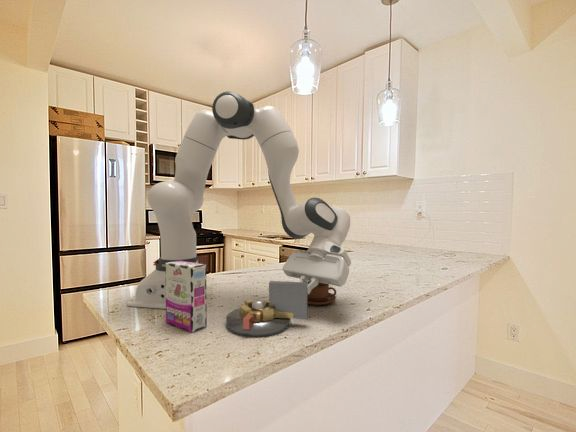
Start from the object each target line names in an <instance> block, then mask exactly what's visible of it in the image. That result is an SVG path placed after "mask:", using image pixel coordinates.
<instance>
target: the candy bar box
mask: <svg viewBox="0 0 576 432" xmlns="http://www.w3.org/2000/svg"><path fill="white" fill-rule="evenodd" d="M165 265H166V309H165V324H166V325H170V326H172V327H176V328H179V329H181V330H184V331H187V332H189V333H195V332H198V331H199V330H200V331H201V330H202V329H204V328H206V327H207V325H208V324H207V322H208V321H207V318H208V317H207V264H205V263H200V262H198V263H193V262H186V261H174V262H168V263H165Z"/></svg>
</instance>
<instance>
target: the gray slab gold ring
mask: <svg viewBox="0 0 576 432" xmlns="http://www.w3.org/2000/svg"><path fill="white" fill-rule="evenodd" d="M307 282H308V281H307ZM307 282H300V281H285V280H284V281H283V280H282V281H281V280H270V281H269V282H268V300H265V308H263V309H260V312H258V311H252V300H254V299H255V298H253V299H248V300H244V303H243V304H242V305H240V306H239V307H238V308H239V316H240V318H242V319H243V318H244V317H245V316H246V315H247V314H251V315H254V322H260V321H263V322H265V321H268V320H272V319H274V318H290V319H292V320H293V319H297V320H298V319H299V320H301V319H302V320H307V319H308V315H309V313H308V308H309V306H308V305H309V304H308V283H307Z"/></svg>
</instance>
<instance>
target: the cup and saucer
mask: <svg viewBox="0 0 576 432" xmlns="http://www.w3.org/2000/svg"><path fill="white" fill-rule="evenodd" d="M310 282H311V281H309V282H308V281H307V283H308V284H309V283H310ZM329 286H330V284H324V283H318V285H317V286H316V287H314V288H313V289H312V290H311V292H310V294H308V305H314V306H324V305H330V304H332V303H334V301H336V298H337V296H336V295H337V290H336V288H335V287H331V286H330V287H329ZM329 290H332V291H333V292H329Z"/></svg>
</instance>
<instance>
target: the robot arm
mask: <svg viewBox="0 0 576 432" xmlns="http://www.w3.org/2000/svg"><path fill="white" fill-rule="evenodd" d="M211 106H212V107H211V108H212V110H210V109H202V110H199V111H197V112H196V114H195V115H194V116H193V118H192V119H191V120H190V121H191V122H190V123H189V125H188V127H187V128H186V131H185V134H184V136H183V138H182V141H181V143H180V146H179V147H178V150H177V152H176V156H175V158H174V163H175V172H174V177H173V178H174V179H173V180H165V181H161V182H158V183H155V184H154V185H152V186H151V188H150V189H149V191H148V193H147V202H148V205H149V208H151V210H152V211H153V213H154V215H155V218H156V222H157V225H158V230H159V235H160V257H159V258H157V260H155V261H154V262H152V263H153V265H152V266H154V267H155V269H153V271H152V272H150V273H149V274H147V276H145V277H144V278H143V279H142V280H140V282H138V285H137V286H136V289H135V294H134V295H133V296H131V297H130V298H129V299H128V301H127V307H133V308H134V307H135V308H136V307H138V308H149V309H150V308H151V309H162V310H163V309H165V310H166V265H165V263H168V262H174V261H186V262H193V263H199V260H198V258H199V257H198V256H197V233H196V230H195V228H194V224H193V221H192V216H191V215H193V214H194V213H196V212H197V211H199V210H200V209H201V208H202V206H203V204H204V193H205V190H206V183H207V179H208V175H209V171H210V169H211V166H212V164H213V162H214V159H215V157H216V153H217V152H218V149H219V146H220V144H221V142H222V140H223V139H225V137H227V138H228V139H232V140H234V139H235V140H242V141H243V140H244V141H245V140H250V139H252V138H253V137H254V138H255V139H256V141H257V143H258V145H259V146H260V147H259V148H260V149H261V151H262V154H263V156H264V160H265V162H266V163H265V164H266V166H267V168H266V169H267V173H268V180H269V183H270V186H271V189H272V192H273V194H274V197H275V200H276V203H277V205H278V206H277V207H278V208H279V212H280V219H281V225H282V229H283V231H284V232H285V233H286V235H287V236H289V237H290V238H291V239H295V240H301V239H303V238H305V237H307V236H308V235H311V234H313V235H314V236H313V239H312V241H311V243H310V245H309V246H308V248H307V250H303V249H298V250H295V251H293V252H292V253H291V255H290V256H289V257H288V258H287V260H286V261H285V263H284V264H283V266H282V271H283V273H284V274H285V275H286V277H290V278H295V279H299V282H308V280H309V281H311V282H310V283H309V284H308V294H310V292H311V290H312V289H313V288H314V287H316V286H317V285H318V283H324V284H329V286H334V287H342V286H344V285H345V284H346V283H347V280H348V277H349V274H350V268H349V267H350V266H351V265H352V261H351V258H350V256H349V254H348V252H347V251H346V249H345V248H344V247H342V244H343V243H344V242H345V240H346V238H347V236H348V233H349V230H350V227H351V216H350V214H349V212H347V210H345V209H344V208H342V207H340V206H332V205H329V203H327V202H326V201H325V200H324V199H322V198H319V197H310V198H309V199H307V200H305V201H304V202H302V203H300V204H299V205H298V204H297V201H296V197H295V195H294V191H293V189H292V186H291V180H290V179H291V174H292V172H293V169H294V166H295V164H296V162H297V160H298V157H299V152H300V149H299V146H298V145H299V144H298V142H297V139H296V137H295V135H294V133H293V131H292V129H291V127H290V125H289V123H288V122H287V121H286V119H285V117H284V116H283V115H282V113H281V112H280V111H279V109H278V108H277V107H275V106H273V105H265V106H262V107H260V108H255V106H254V104H253V103H252V102H251V101H250V100H248V99H246V98H245V97H244V96H242V95H241V94H239V93H236V92H233V91H223V92H220V93H219V94H218V95H217V96H216V97H215V98H214V100H213V102H212V105H211Z"/></svg>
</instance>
